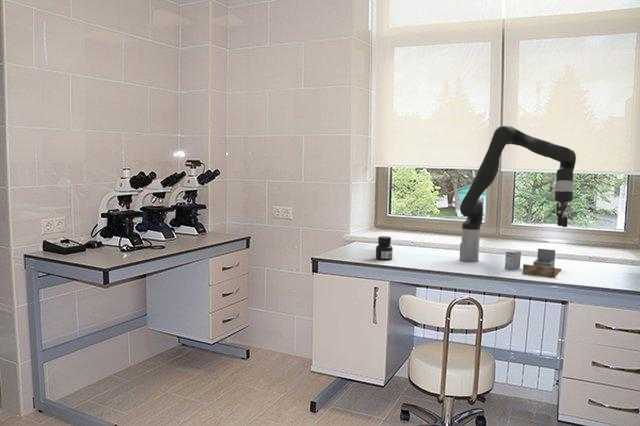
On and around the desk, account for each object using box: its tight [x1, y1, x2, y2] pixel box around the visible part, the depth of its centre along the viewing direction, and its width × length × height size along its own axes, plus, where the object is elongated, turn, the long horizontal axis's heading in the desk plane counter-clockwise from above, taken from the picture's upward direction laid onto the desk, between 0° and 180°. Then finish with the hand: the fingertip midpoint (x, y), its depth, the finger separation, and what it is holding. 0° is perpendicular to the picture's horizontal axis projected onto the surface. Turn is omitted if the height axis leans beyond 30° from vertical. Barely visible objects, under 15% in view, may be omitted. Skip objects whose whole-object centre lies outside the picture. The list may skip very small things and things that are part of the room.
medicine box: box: [504, 249, 522, 271], centre depth 265 cm, size 8×4×9 cm, turn 135°
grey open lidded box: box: [532, 248, 556, 268], centre depth 261 cm, size 8×12×9 cm, turn 148°
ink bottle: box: [375, 235, 394, 261], centre depth 283 cm, size 10×9×12 cm
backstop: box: [522, 263, 562, 279], centre depth 258 cm, size 14×23×4 cm, turn 148°
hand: (562, 226), depth 241 cm, fingers open, 8 cm apart
